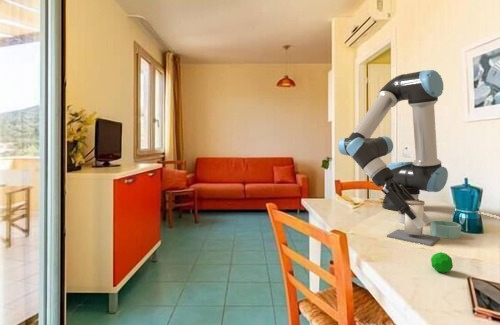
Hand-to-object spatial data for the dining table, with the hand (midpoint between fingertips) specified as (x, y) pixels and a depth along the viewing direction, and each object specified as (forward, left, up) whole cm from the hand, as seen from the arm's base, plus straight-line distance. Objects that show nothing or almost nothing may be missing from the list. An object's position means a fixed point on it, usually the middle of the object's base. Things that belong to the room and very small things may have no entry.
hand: (425, 224), depth 111 cm
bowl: (-12, +3, -5) cm, 14 cm away
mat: (0, -4, -5) cm, 6 cm away
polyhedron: (+26, +11, -6) cm, 29 cm away
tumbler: (0, -4, -3) cm, 5 cm away
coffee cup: (-21, -13, -6) cm, 25 cm away
